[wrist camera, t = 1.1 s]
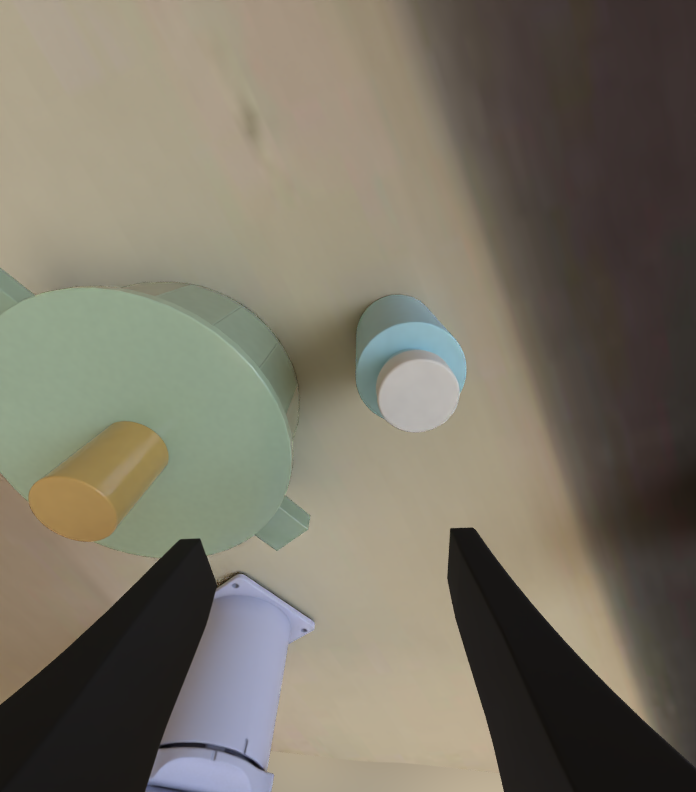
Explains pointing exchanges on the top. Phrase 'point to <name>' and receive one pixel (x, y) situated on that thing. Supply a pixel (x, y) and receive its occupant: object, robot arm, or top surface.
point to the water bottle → (407, 364)
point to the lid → (137, 423)
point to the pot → (251, 338)
